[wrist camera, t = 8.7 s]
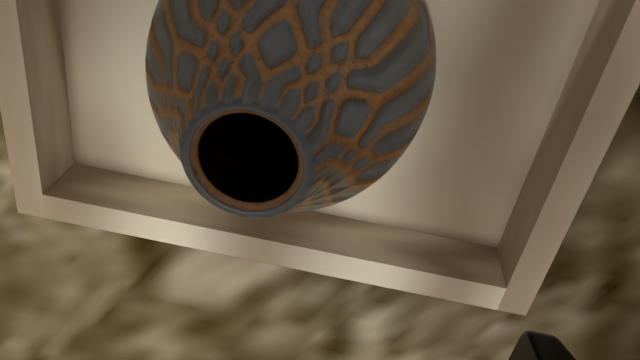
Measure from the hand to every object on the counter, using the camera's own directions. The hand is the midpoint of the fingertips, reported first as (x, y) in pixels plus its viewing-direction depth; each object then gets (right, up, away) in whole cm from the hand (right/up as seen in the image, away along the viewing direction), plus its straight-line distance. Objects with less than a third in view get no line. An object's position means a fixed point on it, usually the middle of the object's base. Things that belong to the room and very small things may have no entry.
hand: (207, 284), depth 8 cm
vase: (+1, +6, +9) cm, 11 cm away
